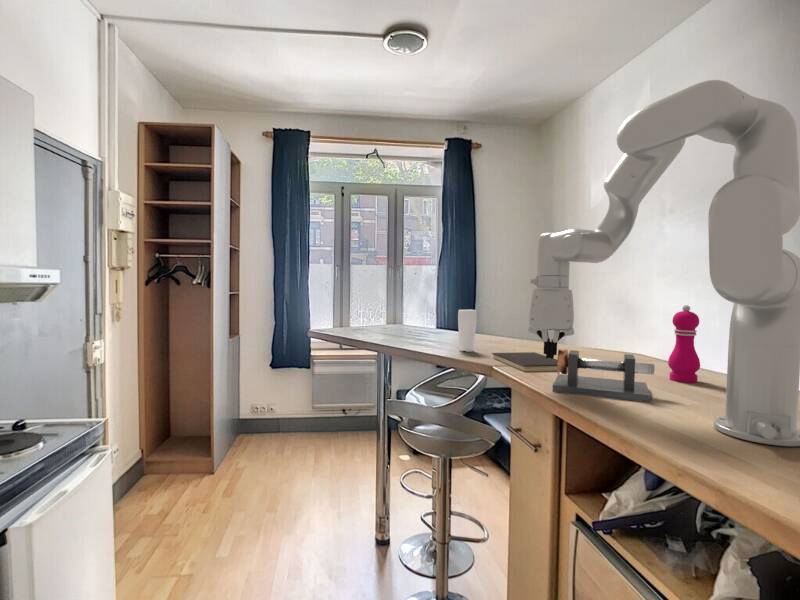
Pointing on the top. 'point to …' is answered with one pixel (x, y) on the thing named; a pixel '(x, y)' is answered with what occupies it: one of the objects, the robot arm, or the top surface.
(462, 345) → the drinking glass
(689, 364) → the pepper mill
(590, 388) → the stand
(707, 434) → the top surface
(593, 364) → the shaft
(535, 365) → the hardcover book
